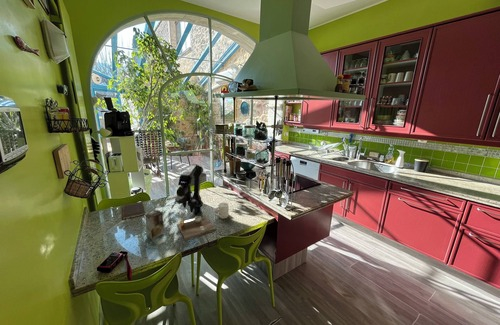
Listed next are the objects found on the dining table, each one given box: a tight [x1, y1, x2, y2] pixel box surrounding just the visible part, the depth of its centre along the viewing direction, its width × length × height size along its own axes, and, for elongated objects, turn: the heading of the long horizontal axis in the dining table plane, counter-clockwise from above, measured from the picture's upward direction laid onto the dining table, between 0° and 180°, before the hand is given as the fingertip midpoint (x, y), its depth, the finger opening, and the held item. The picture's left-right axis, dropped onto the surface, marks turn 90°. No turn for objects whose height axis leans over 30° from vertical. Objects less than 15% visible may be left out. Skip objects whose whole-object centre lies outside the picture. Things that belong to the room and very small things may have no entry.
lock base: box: [176, 216, 216, 241], centre depth 148 cm, size 20×22×2 cm
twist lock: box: [179, 215, 202, 228], centre depth 150 cm, size 15×5×4 cm, turn 124°
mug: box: [213, 202, 230, 219], centre depth 164 cm, size 12×8×10 cm
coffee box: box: [144, 209, 165, 240], centre depth 138 cm, size 9×6×16 cm
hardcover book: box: [121, 201, 146, 220], centre depth 171 cm, size 16×23×2 cm
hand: (188, 210), depth 149 cm, fingers open, 9 cm apart
